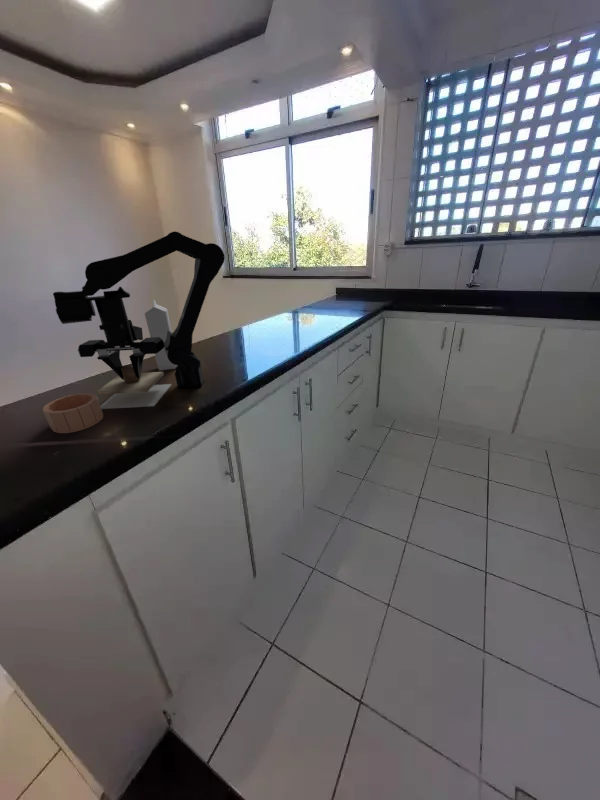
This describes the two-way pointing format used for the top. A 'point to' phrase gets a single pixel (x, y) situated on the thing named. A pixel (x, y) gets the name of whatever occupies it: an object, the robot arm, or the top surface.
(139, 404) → the mat
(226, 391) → the top surface
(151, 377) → the cover
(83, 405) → the bowl
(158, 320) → the milk
